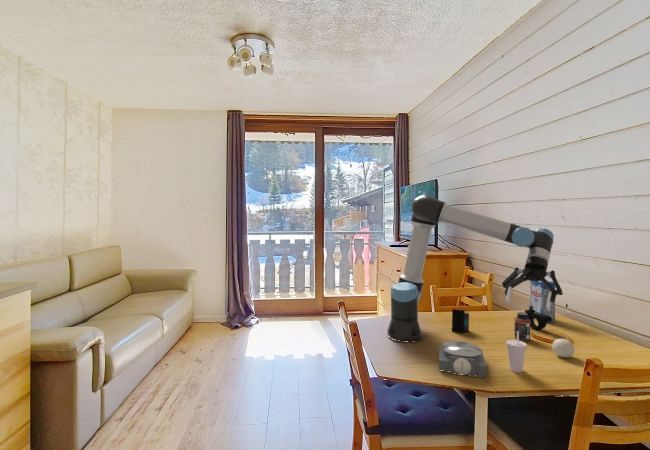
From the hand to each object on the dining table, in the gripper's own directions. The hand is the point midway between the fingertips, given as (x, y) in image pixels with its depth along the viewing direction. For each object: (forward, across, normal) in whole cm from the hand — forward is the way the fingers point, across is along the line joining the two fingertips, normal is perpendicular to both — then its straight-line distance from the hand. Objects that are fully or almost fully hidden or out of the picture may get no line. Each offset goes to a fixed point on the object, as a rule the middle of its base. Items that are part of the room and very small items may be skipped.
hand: (526, 305), depth 125 cm
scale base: (+30, +15, +2) cm, 34 cm away
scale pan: (+26, +15, +6) cm, 31 cm away
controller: (-12, +5, -41) cm, 43 cm away
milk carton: (-25, +8, -54) cm, 61 cm away
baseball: (+7, -9, -23) cm, 25 cm away
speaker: (+6, +31, -23) cm, 39 cm away
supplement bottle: (0, +7, -29) cm, 30 cm away
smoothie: (+24, 0, -5) cm, 24 cm away
